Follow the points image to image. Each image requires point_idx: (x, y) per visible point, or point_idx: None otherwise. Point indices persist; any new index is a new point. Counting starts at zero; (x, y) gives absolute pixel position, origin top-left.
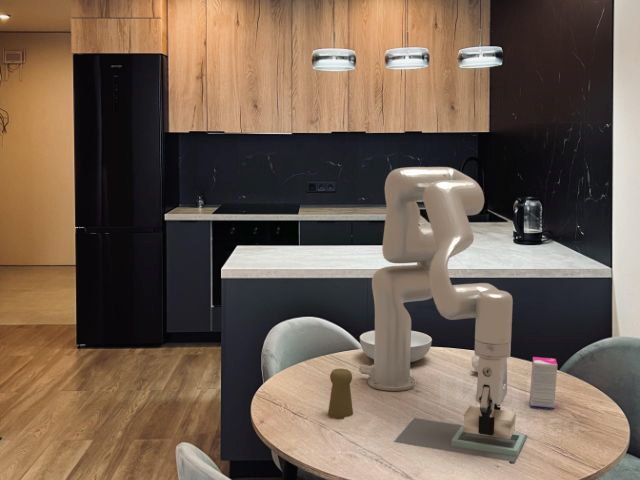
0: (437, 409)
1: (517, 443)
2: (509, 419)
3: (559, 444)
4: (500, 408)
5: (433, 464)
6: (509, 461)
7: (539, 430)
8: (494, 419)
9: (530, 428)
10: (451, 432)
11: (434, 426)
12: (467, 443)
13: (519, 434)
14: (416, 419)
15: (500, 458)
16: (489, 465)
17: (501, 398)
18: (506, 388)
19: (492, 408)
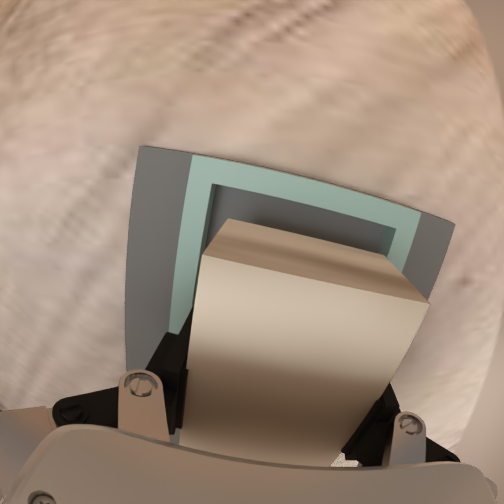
0: (50, 402)
1: (331, 201)
2: (401, 313)
3: (204, 13)
4: (166, 363)
5: (428, 424)
6: (447, 241)
7: (68, 103)
8: (379, 393)
9: (57, 139)
10: None
11: (173, 441)
12: None
13: (198, 184)
14: None
15: (431, 275)
16: (458, 306)
17: (434, 497)
18: (104, 493)
19: (423, 462)
